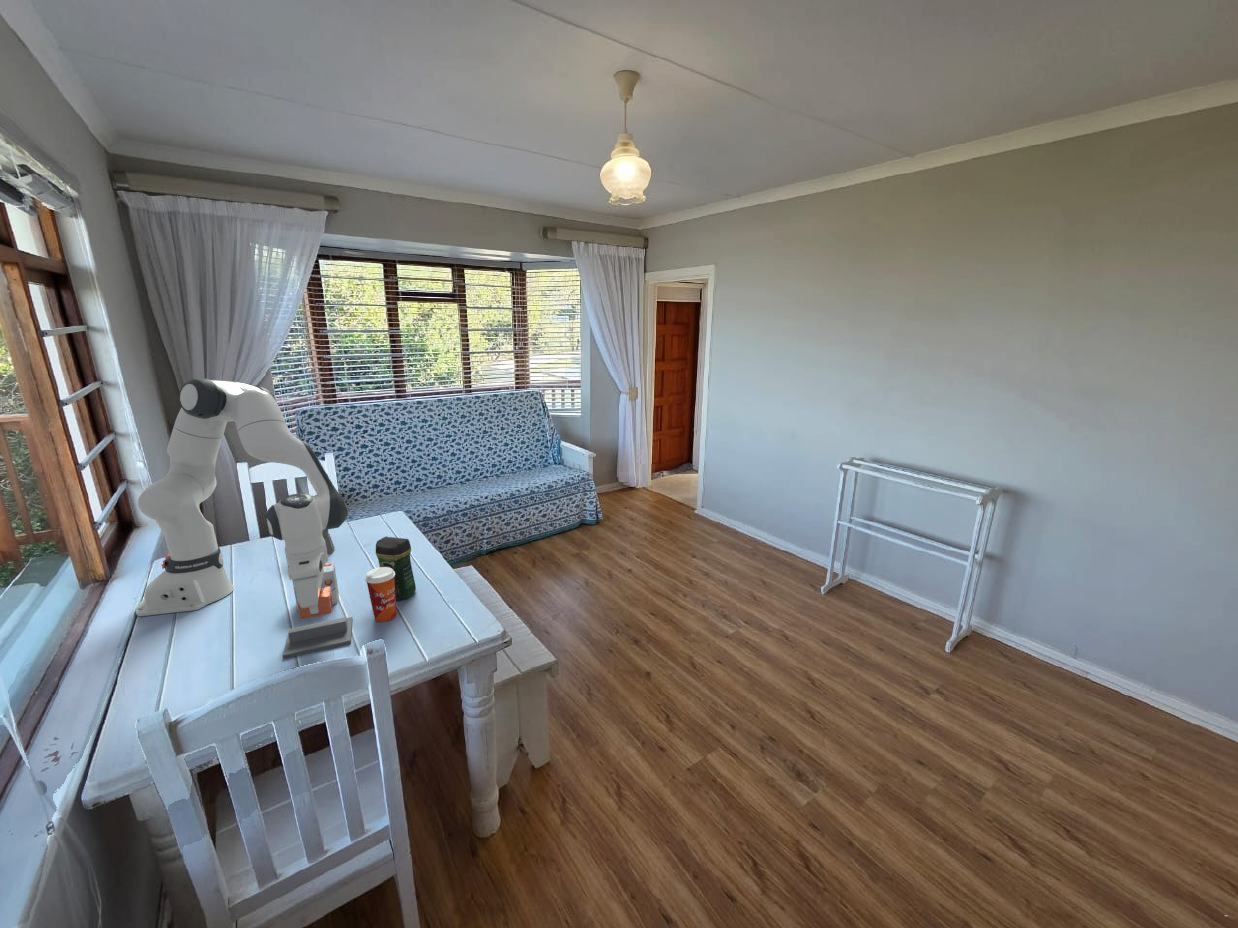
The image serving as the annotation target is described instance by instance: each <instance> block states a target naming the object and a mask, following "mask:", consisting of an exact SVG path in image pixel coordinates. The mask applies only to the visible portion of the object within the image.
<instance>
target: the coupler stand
mask: <svg viewBox="0 0 1238 928" xmlns="http://www.w3.org/2000/svg"><path fill="white" fill-rule="evenodd" d="M353 622H354V619H353V616H350V617H340V618H335V619H330V620H326V621H325V620H324V621H320V622H316V623H312V624H307V625H302V626H296V627H291V628H289V629H288V633H287V639H286V642H285V646H284V649H283V653H282V659H283V660H285V659H289V658H293V657H297V656H301V655H307V654H310V653H317V652H320V651H323V650H329V649H332V648H337V647H342V646H345V645H351V644H352V634H353V633H352V632H353Z"/></svg>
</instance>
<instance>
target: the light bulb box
mask: <svg viewBox="0 0 1238 928" xmlns="http://www.w3.org/2000/svg"><path fill="white" fill-rule="evenodd" d="M323 569H324V573H323V578H322V584H321V588H325V587H331V593H332V598H333V605H335V604H336V605H337V604H338V603H339V595H340V592H339V587H338V586H339V585H338V579H337V573H336V571H337V570H336V567H335V561H333V562H329V563H328V562H326V563H325V565H324V567H323ZM291 581H292V582H293V580H291ZM292 585H293V584H292ZM293 592H294V598H295V604H296V610H297V612H299V609H298V604H297V601H298V599H297V596H296V592H295V589H294V585H293Z"/></svg>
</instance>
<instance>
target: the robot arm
mask: <svg viewBox="0 0 1238 928" xmlns="http://www.w3.org/2000/svg"><path fill="white" fill-rule="evenodd" d="M178 402H179V405H180V409H179V412H178V414H177V416H176V419H175V422H174V425H173V428H172V430H171V431H172V432H171V435H170V437H169V441H168V445H167V449H166V454H167V455H168V456H169V470H168V472H167V473H166V475H165V476H164V477H162V478H160V479H158V480H157V481H154V482H152V483H150V484H149V485H148V486H147V487H146V488H145V489H144V490H143V491H142V492H141V494H140V495H139V497H138V498H137V499H138V500H137V505H138V509H139V510H140V512H141V513H142V514H143V515H144V516H146V517H147V518H149V519H152V520H154V522H155V523H156V524H157V525H158V527H159V528H160V531H161V532H162V534H163V536H164V539H165V542H166V546H167V550H168V554H167V555H166V556H165V559H164V560H163V561H162V564H161V568H162V569H163V571H162V572H161V573H160V574H159V575H157V577H154V579H153V580H152V581H151V582H150V583H149V584H147V586H146V589H145V590H144V595H143V596H144V597H143V599H142V600H141V601H140V602H139V603H138V604H137V606H136V609H135V614H136V616H137V617H144V616H146V617H147V616H154V615H163V614H172V613H182V612H190V611H197V610H200V609H202V608H204V607H205V606H207V605H209V604H211V603H214V602H216V601H220V600H221V599H223V598H225V597H226V596H228V595H230V593H231V594H232V592H233V591H234V589H235V587H234V585H233V584H232V582H231V580H230V579H229V577H228V575H227V572H226V570H225V567H224V559H223V558H224V557H223V553H222V551H221V548H220V547H219V546H218V542H217V536H216V532H215V528H214V524H213V523H211V522H210V521H208V520H207V519H206V518H205V516H204V515H203V513H202V512H201V509H200V504H201V503H202V502H204V501H205V500H207V499H209V497H210V496H211V495H212V494H213V493H214V491H215V490H216V487H217V483H218V482H217V478H216V463H217V458H218V455H219V450H220V447H221V444H222V441H223V438H224V434H225V430H226V427H227V424H228V422H234V423H235V429H236V432H237V434H238V435H237V436H238V437H239V441H240V443H241V445H242V447H243V449H244V450H245V452H246V453H247V454H248V455H249V456H251V457H252V458H255V459H256V460H259V461H262V462H267V463H273V464H282V465H286V466H287V465H288V466H292V467H295V468H298V469H300V470H301V471H302V472H303V474H305V477H307V479H308V481H309V483H310V485H311V486H312V488H313V490H314V491H315V495H311V494H308V493H293V494H288V495H286V496H284V497H282V498H281V499H279V502H278V503H274V504H272V505H271V506H270V507H269V508H268V509H267V511H266V512H265V514H264V517H265V520H266V526H267V533H268V535H269V536H270V537H273V538H274V539H276V540H279V541H280V542H281V541H284V543H285V545H284V553H285V558H286V560H285V561H286V564H287V568H288V571H287V572H288V579H289V580H290V581H292V580H293V581H292V585H294V587H293V590H294V589H295V592H296V596H297V599H298V603H299V605H300V607H301V608H310V613H311V614H315V613H318V611H319V606H318V600H319V595H320V589H321V584H322V578H323V573H324V569H323V567H324V565H325V564H326V563H328V561H329V557H328V556H329V555H328V554H327V548H326V543H325V540H324V538H323V535H322V530H328V531H329V530H333V529H338V528H340V527H341V526H342V525H343V523H345V521H346V520H347V517H348V516H349V511H348V506H347V504H346V502H345V500H344V498H343V497H342V496H341V494H340V493H339V491H338V490H337V488H336V487H335V486H334V484H333V482H332V481H331V479H330V477H329V476H328V474H327V472H326V470H325V468H324V466H323V464H322V463H321V461H320V460H319V458H318V457H317V455H316V453H315V451H314V450H313V448H312V447H311V446H310V445H309V443H308V442H306V441H304V440H301V439H299V438H298V437H296V436H295V435H294V434H293V433H292V432H291V430H290V429H289V427H288V424H287V421H286V419H285V417H284V413H283V412H282V410H281V408H280V405H278V403H277V401H276V399H275V396H274V394H273V392H271V391H270V389H269V390H268V389H267V388H265V387H262V386H259V385H253V384H252V385H251V384H247V383H244V382H243V383H242V382H238V381H233V380H232V381H227V380H215V379H212V380H211V379H209V378H193V379H190V380H187V381H186V382H185V383H184V384H183V385H182V387H181V388H180V390H179V395H178Z"/></svg>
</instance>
